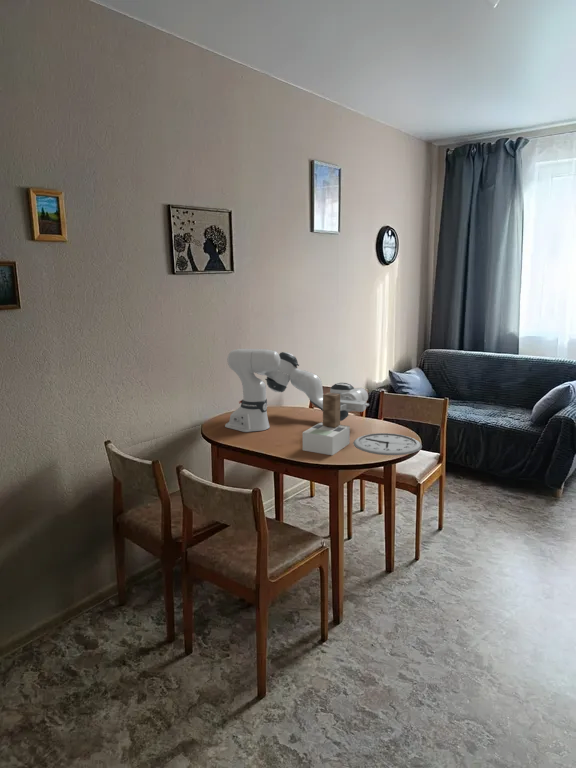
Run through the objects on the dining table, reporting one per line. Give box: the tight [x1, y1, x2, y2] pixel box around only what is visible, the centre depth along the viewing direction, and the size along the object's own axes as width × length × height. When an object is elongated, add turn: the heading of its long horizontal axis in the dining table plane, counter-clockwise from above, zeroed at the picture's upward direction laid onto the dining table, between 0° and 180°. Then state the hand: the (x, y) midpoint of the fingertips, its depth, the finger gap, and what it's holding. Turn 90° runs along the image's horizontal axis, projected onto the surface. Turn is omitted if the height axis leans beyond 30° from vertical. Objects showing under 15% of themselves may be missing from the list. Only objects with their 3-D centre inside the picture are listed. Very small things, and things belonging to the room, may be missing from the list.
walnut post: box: [322, 392, 341, 427], centre depth 234 cm, size 6×5×14 cm
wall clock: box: [352, 432, 423, 456], centre depth 236 cm, size 30×2×30 cm
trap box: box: [302, 421, 351, 456], centre depth 232 cm, size 14×18×8 cm
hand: (337, 408), depth 239 cm, fingers closed
